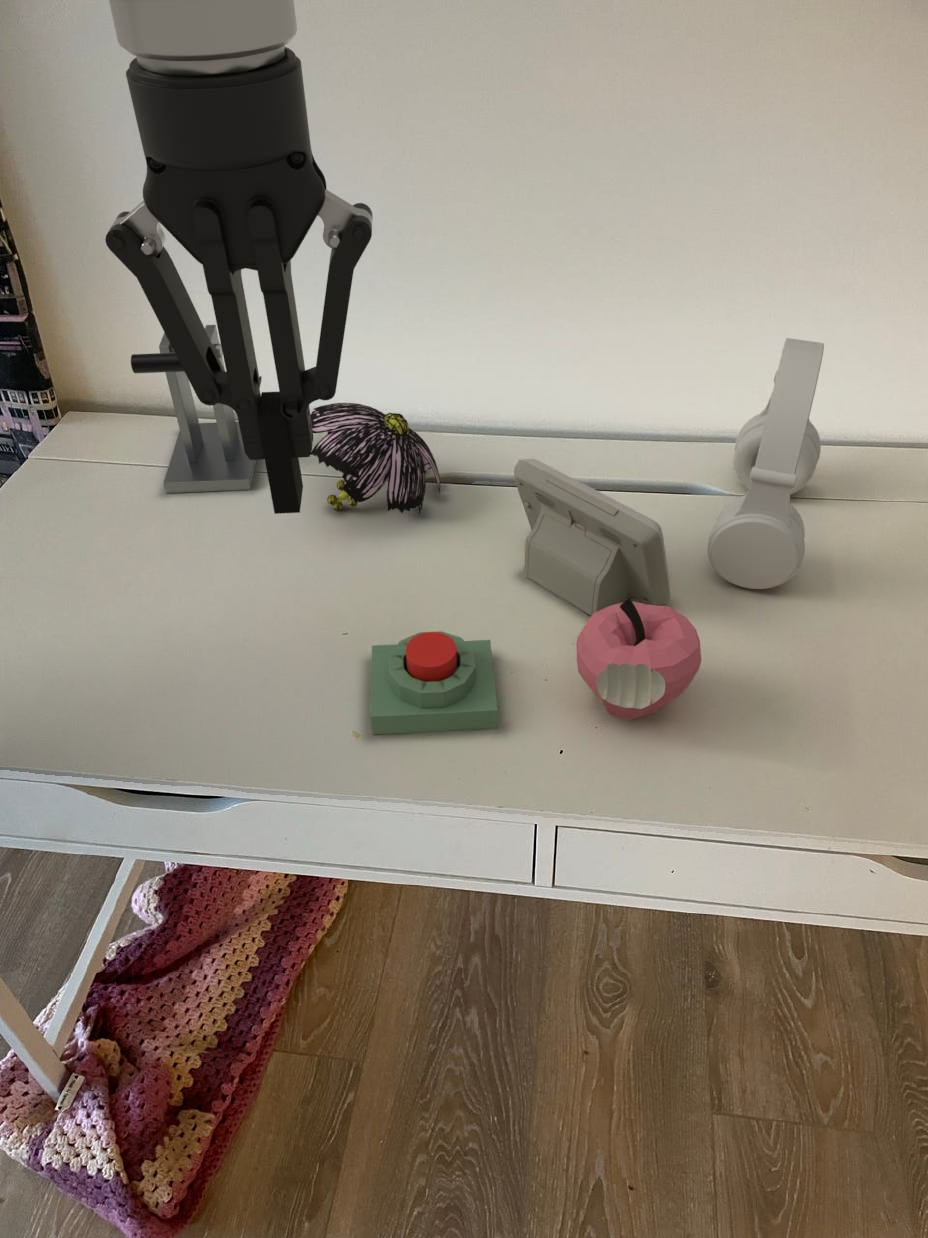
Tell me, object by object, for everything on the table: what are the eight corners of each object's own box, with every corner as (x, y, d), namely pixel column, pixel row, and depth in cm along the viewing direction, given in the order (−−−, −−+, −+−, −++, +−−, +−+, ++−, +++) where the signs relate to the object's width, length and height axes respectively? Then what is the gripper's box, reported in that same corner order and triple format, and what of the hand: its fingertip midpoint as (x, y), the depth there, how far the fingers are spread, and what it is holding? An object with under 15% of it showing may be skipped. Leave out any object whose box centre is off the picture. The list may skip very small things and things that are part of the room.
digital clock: (679, 608, 85) (697, 513, 78) (601, 647, 81) (612, 551, 74) (568, 519, 95) (575, 428, 88) (495, 551, 92) (496, 458, 84)
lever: (194, 375, 85) (190, 348, 84) (132, 378, 85) (128, 350, 84) (222, 361, 97) (219, 337, 96) (169, 363, 97) (165, 339, 96)
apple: (559, 727, 75) (567, 637, 68) (584, 654, 81) (593, 565, 74) (680, 756, 73) (700, 666, 66) (696, 679, 79) (716, 588, 72)
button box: (372, 735, 75) (368, 701, 72) (373, 663, 80) (370, 629, 78) (497, 728, 75) (498, 694, 72) (490, 657, 81) (490, 623, 78)
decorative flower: (452, 457, 86) (296, 402, 85) (416, 566, 91) (269, 516, 91) (467, 416, 99) (332, 369, 98) (434, 514, 104) (306, 470, 103)
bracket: (250, 489, 100) (224, 361, 90) (165, 493, 100) (130, 365, 90) (262, 430, 109) (239, 307, 99) (184, 433, 108) (153, 310, 98)
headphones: (730, 469, 101) (767, 296, 88) (810, 483, 99) (860, 308, 86) (698, 582, 88) (736, 397, 74) (791, 602, 85) (847, 415, 72)
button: (407, 683, 74) (406, 668, 72) (406, 648, 77) (405, 632, 75) (458, 681, 74) (457, 665, 73) (455, 645, 77) (455, 630, 76)
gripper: (364, 27, 43) (397, 460, 59) (80, 36, 43) (190, 469, 59) (360, 67, 38) (397, 532, 54) (34, 77, 38) (169, 543, 54)
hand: (289, 499), depth 56 cm, fingers closed
